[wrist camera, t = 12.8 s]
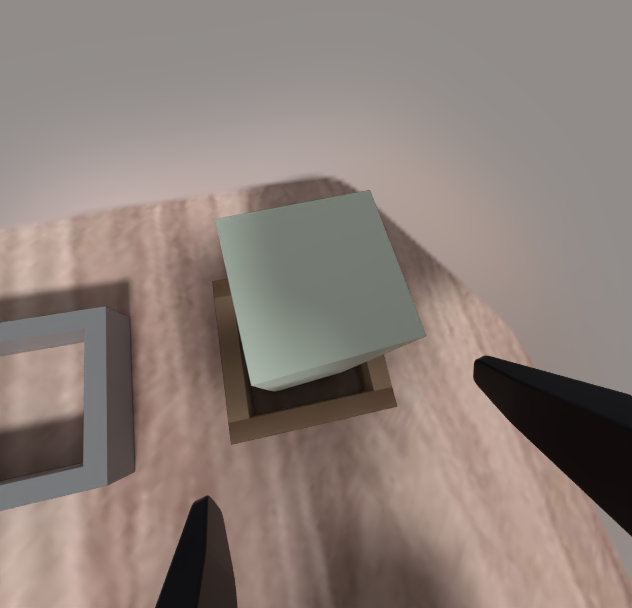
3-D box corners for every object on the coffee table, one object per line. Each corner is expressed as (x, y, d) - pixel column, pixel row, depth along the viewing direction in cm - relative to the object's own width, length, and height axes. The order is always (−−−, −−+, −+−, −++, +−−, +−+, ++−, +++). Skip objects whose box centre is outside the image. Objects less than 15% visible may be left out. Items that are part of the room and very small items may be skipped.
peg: (339, 373, 18) (426, 335, 7) (274, 391, 18) (251, 385, 6) (321, 312, 19) (369, 190, 8) (259, 327, 19) (215, 219, 7)
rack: (382, 404, 18) (397, 406, 15) (239, 437, 17) (230, 444, 14) (349, 275, 20) (358, 259, 18) (221, 295, 19) (212, 281, 17)
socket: (134, 471, 16) (107, 485, 13) (-52, 515, 14) (-119, 538, 12) (129, 318, 18) (105, 306, 16) (-31, 344, 17) (-84, 335, 14)
